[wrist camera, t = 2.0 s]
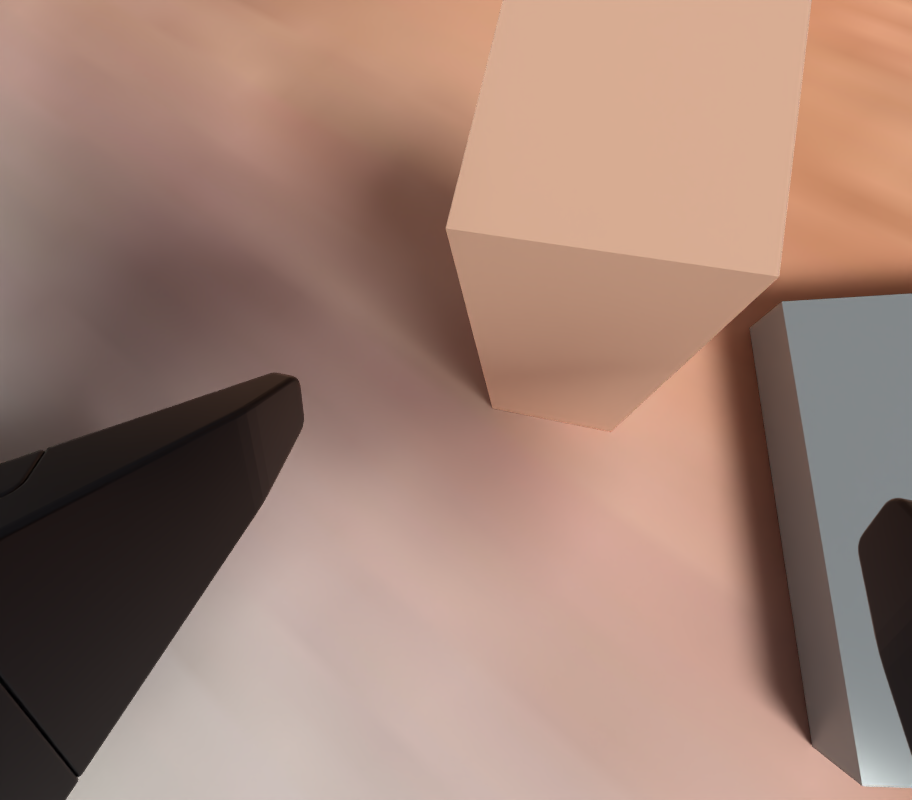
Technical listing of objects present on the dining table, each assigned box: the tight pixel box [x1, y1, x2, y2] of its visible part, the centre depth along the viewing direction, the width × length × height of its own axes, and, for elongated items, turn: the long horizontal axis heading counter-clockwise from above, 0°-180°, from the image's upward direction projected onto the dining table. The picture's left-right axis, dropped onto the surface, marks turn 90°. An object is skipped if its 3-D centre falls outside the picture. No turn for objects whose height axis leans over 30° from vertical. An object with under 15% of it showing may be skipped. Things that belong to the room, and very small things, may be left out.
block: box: [446, 0, 812, 432], centre depth 14 cm, size 4×4×13 cm
